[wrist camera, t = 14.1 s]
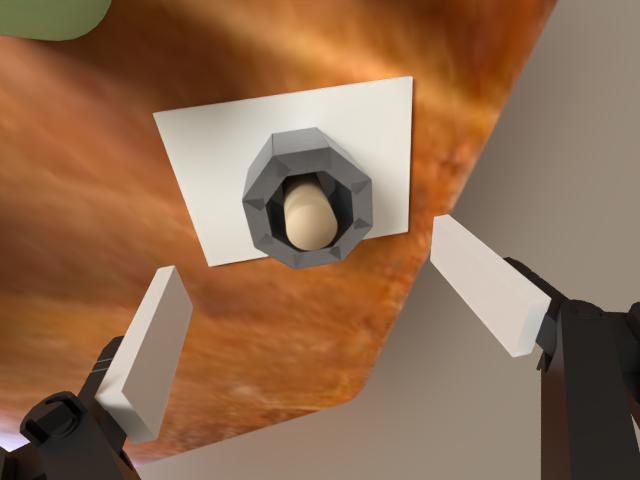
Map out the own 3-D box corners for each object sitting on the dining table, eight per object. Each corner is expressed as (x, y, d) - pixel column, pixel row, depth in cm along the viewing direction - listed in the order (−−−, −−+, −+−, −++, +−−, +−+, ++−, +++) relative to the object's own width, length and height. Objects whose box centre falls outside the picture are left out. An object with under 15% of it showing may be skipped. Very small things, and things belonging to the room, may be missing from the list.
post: (284, 201, 28) (290, 254, 20) (278, 166, 26) (282, 209, 18) (320, 195, 28) (339, 245, 20) (315, 160, 26) (334, 200, 19)
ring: (263, 231, 29) (261, 275, 23) (240, 138, 25) (231, 162, 19) (352, 216, 29) (374, 255, 23) (346, 122, 25) (370, 140, 19)
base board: (210, 262, 31) (209, 266, 30) (155, 111, 24) (152, 113, 23) (404, 228, 32) (407, 231, 31) (408, 75, 25) (412, 76, 24)
